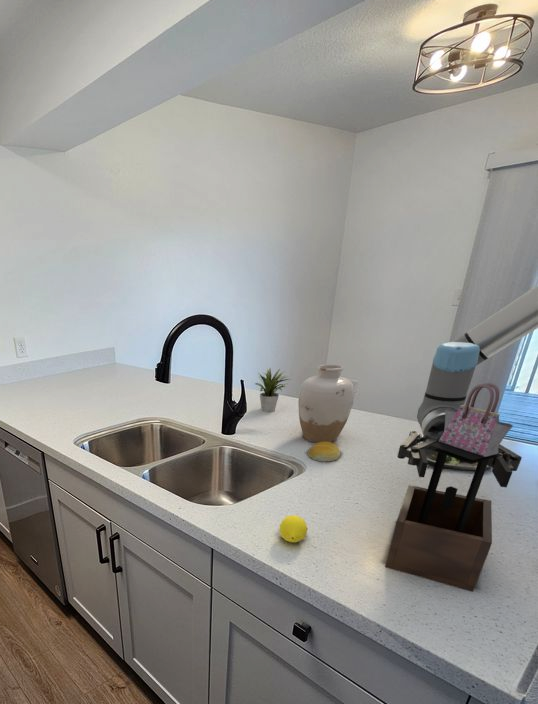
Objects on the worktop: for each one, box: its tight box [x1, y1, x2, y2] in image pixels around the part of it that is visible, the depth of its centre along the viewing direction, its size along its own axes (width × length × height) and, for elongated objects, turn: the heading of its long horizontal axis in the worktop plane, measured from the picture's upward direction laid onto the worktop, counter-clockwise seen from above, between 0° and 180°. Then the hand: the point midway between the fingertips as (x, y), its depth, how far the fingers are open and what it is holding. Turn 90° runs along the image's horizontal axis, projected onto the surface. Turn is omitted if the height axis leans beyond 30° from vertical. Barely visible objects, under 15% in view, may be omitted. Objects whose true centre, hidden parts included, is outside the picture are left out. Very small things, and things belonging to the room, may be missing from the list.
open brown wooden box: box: [384, 484, 493, 592], centre depth 81 cm, size 13×16×10 cm
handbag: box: [417, 382, 514, 533], centre depth 75 cm, size 10×8×30 cm
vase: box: [297, 363, 355, 444], centre depth 136 cm, size 16×16×23 cm
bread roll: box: [307, 442, 341, 463], centre depth 127 cm, size 8×9×4 cm
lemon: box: [279, 514, 308, 543], centre depth 89 cm, size 7×5×5 cm
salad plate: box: [426, 453, 491, 471], centre depth 120 cm, size 19×18×5 cm
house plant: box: [254, 368, 293, 413], centre depth 166 cm, size 14×14×16 cm
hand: (463, 474), depth 71 cm, fingers closed on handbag, 11 cm apart
